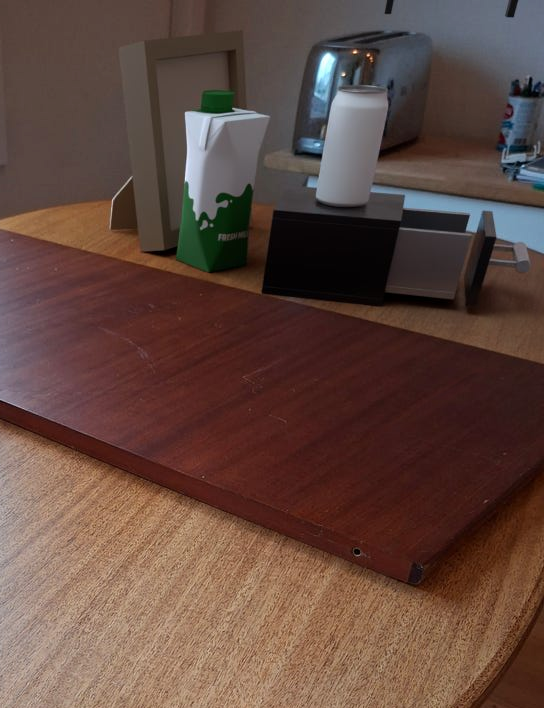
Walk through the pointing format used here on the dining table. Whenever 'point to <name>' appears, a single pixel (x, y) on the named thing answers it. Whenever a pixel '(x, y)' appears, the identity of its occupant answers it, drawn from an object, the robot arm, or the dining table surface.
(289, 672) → the dining table surface
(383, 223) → the cabinet
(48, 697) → the dining table surface
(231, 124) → the milk carton
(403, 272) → the drawer
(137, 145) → the photo frame
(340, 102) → the can
